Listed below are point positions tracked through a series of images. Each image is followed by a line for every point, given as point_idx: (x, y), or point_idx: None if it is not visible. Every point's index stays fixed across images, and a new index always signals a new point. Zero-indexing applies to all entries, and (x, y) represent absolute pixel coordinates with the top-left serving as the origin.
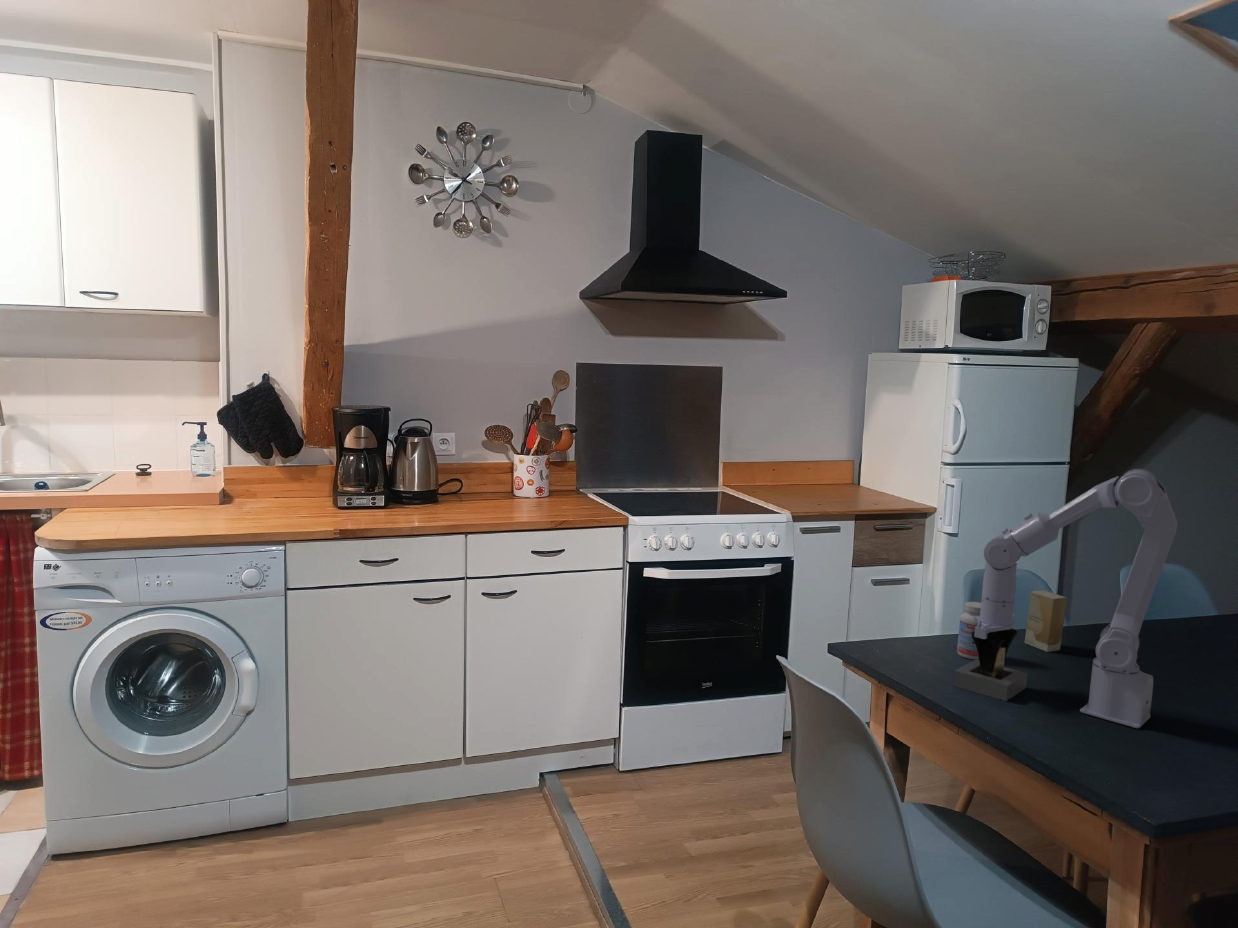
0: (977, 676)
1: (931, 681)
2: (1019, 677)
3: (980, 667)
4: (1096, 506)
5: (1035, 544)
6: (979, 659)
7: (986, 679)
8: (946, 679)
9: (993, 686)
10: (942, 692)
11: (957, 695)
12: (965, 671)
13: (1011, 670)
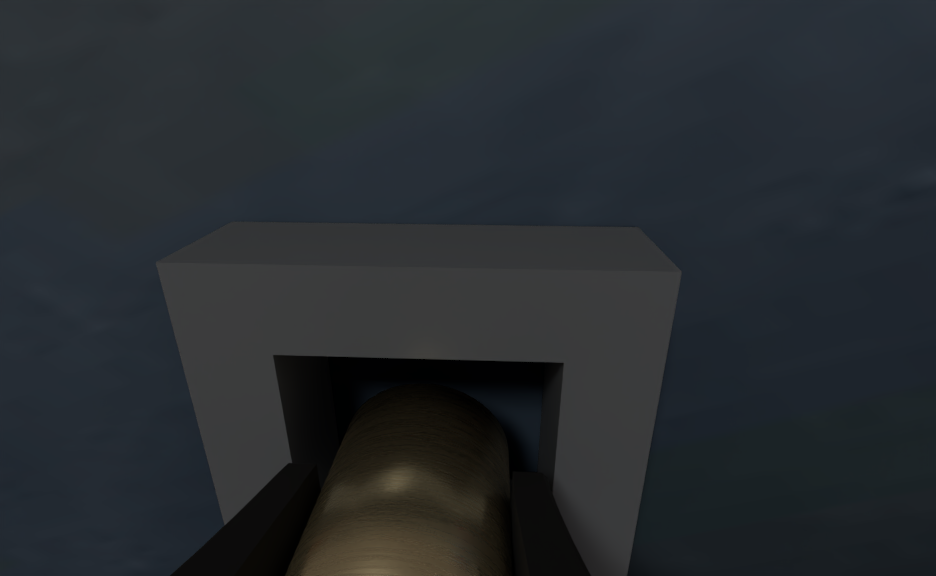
0: (217, 440)
1: (152, 54)
2: None
3: (279, 471)
4: None
5: None
6: (225, 527)
7: (223, 499)
8: (314, 124)
9: None
10: (41, 226)
11: (99, 315)
12: (235, 338)
13: (596, 552)
